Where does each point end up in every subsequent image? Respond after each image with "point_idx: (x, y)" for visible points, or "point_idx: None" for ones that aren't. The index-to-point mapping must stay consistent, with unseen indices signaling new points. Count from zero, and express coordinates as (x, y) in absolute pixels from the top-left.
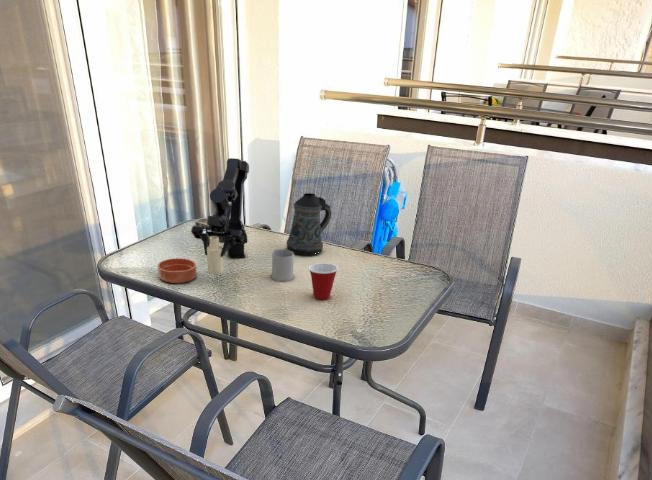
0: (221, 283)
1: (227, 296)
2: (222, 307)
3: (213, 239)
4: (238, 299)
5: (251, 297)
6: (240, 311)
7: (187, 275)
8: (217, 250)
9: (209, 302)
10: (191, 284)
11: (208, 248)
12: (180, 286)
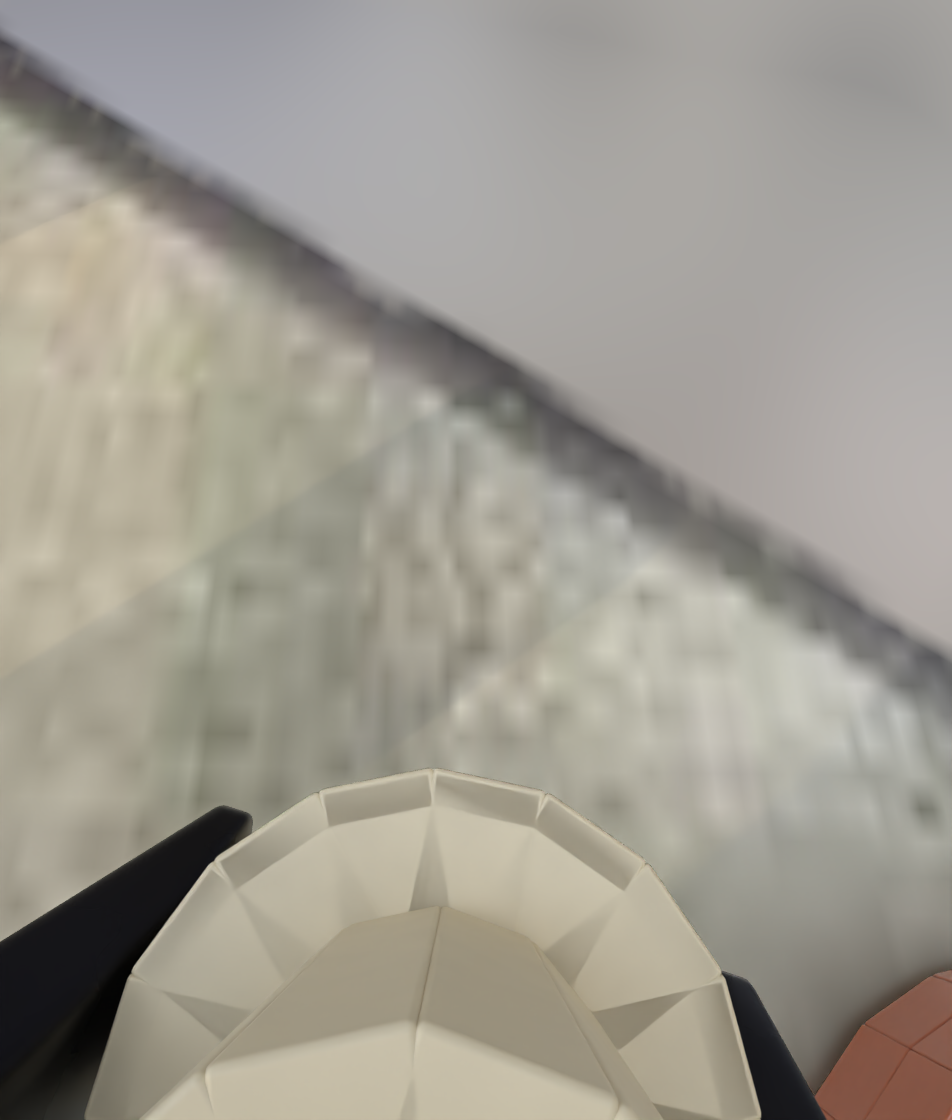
0: None
1: (322, 565)
2: (388, 323)
3: (437, 1013)
4: (205, 488)
5: (49, 533)
6: (222, 245)
7: (922, 1041)
8: (317, 818)
9: (520, 428)
10: (796, 954)
11: (680, 1057)
12: (927, 881)
